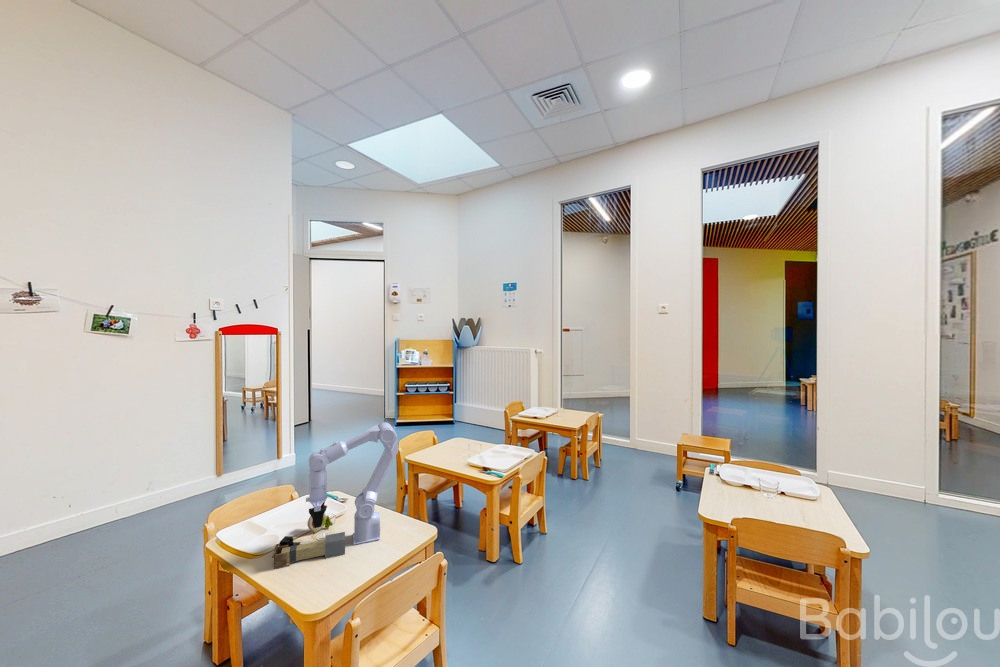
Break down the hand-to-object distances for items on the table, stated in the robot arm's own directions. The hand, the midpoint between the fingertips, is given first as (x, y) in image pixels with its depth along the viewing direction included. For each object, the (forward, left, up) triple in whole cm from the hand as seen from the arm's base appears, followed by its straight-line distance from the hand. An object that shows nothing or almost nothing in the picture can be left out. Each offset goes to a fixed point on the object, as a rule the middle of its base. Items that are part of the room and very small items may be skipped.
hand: (318, 521), depth 140 cm
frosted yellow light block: (+4, +5, -10) cm, 12 cm away
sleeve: (-6, +5, -10) cm, 12 cm away
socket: (+11, +5, -10) cm, 15 cm away
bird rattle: (0, -13, -10) cm, 16 cm away
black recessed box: (+11, -3, -11) cm, 15 cm away
